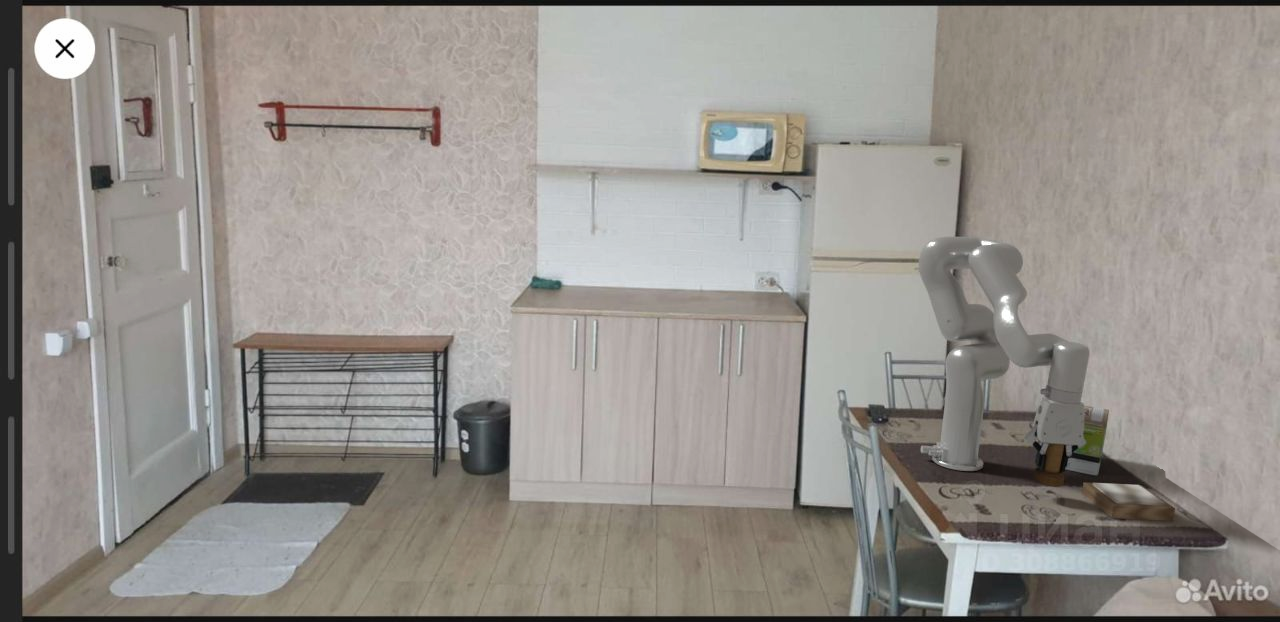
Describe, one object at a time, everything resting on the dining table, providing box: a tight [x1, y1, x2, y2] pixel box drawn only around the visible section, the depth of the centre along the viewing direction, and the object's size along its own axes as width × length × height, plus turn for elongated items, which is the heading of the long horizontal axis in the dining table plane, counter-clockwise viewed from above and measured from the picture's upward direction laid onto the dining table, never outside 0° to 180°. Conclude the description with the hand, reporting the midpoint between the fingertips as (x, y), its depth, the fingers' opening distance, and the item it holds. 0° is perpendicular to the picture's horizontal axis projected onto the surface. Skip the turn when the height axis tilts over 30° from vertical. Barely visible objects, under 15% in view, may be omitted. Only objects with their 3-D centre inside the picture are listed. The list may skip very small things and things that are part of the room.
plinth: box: [1081, 481, 1176, 522], centre depth 208 cm, size 14×14×4 cm
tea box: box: [1065, 405, 1110, 477], centre depth 236 cm, size 15×10×15 cm, turn 151°
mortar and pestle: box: [1033, 444, 1065, 488], centre depth 209 cm, size 7×6×18 cm
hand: (1050, 468), depth 210 cm, fingers closed on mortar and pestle, 4 cm apart
